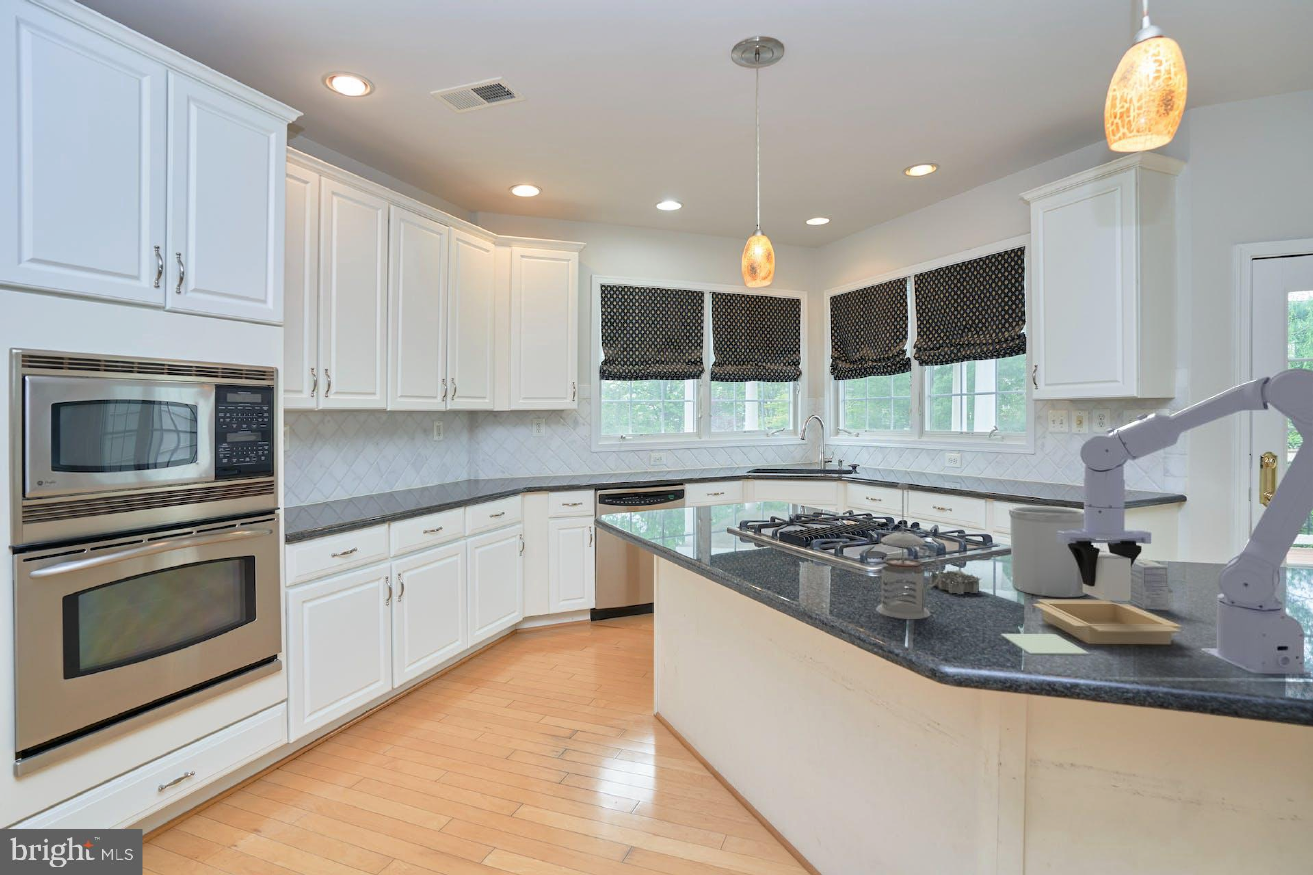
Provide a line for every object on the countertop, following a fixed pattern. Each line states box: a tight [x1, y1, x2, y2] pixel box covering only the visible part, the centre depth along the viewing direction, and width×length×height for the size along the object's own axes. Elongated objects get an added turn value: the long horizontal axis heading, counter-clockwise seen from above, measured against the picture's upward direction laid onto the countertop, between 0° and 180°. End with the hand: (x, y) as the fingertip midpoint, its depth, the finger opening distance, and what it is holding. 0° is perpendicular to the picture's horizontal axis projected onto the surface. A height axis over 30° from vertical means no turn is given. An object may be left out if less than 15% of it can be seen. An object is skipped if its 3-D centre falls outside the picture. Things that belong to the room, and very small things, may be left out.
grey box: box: [1077, 550, 1131, 602], centre depth 110 cm, size 7×4×7 cm, turn 178°
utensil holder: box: [1008, 505, 1086, 598], centre depth 138 cm, size 15×15×18 cm
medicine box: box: [1128, 558, 1169, 611], centre depth 126 cm, size 8×4×9 cm, turn 168°
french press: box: [875, 482, 942, 620], centre depth 123 cm, size 10×12×25 cm
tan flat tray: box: [1032, 598, 1184, 645], centre depth 110 cm, size 18×17×3 cm
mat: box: [1000, 633, 1090, 656], centre depth 103 cm, size 9×9×1 cm
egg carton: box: [926, 566, 982, 595], centre depth 140 cm, size 11×8×4 cm
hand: (1103, 584), depth 110 cm, fingers closed on grey box, 4 cm apart
